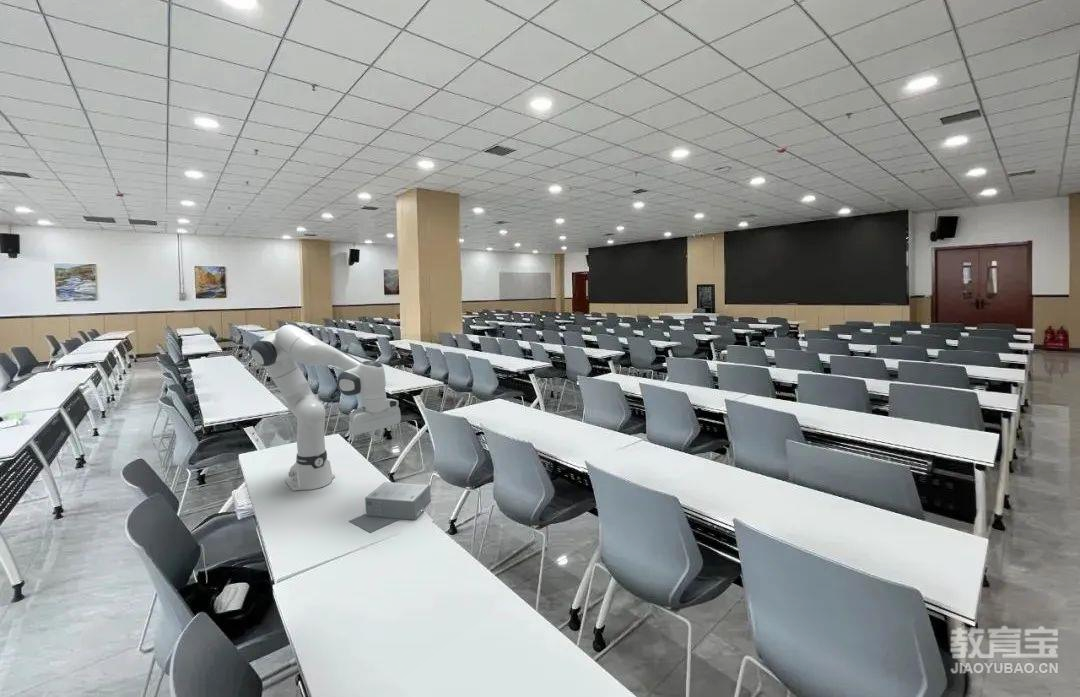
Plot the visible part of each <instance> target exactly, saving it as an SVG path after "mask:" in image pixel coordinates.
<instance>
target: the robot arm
mask: <svg viewBox="0 0 1080 697" xmlns="http://www.w3.org/2000/svg"><path fill="white" fill-rule="evenodd" d="M249 352H250V355H251V358H252V359H253V360H254V362H256V363H257V364H258V365H259V366H262V367H266V370H267V372H268V374H269V376H270V378H271V380H272V381H273V382H274V384H275V386H276V387H277V389H278V390H279V392H280V393H281V395H282V397H283V400H284V401H285V403H286V404H287V406H288V408H289V409H290V411H291V413H292V414H293V415H294V417H295V418H296V422H297V425H296V426H297V427H296V428H297V430H296V438H295V439H296V450H297V453H296V459H295V460H296V461H295V463H294V464H293V465H291V467H290V469H289V471H288V472H287V474H288V476H287V477H285V479H284V482H285V483H286V484H287V486H288V487H289V488H290V489H291V490H292V491H293V492H294V491H301V490H305V491H307V490H316V489H320V488H322V487H323V488H324V487H325V486H327V485H329V484H331V483H332V481H333V479H334V478H335V477H336V474H333V472H332V465H331V461H330V460H329V459H328V454H327V453H328V452H327V449H326V444H325V443H326V442H325V441H326V440H325V427H326V426H325V425H326V414H327V413H326V412H327V411H326V408H325V406H324V404H323V403H322V402H321V401H319V400H318V399H317V398H316V396H315V395H314V392H313V391H312V389H311V387H310V385H309V382H308V380H307V378H306V376H305V375H304V373H303V372H302V369H301V367H300V366H299V364H298V363H300V364H302V365H305V366H310V367H311V366H312V367H314V366H331V367H335V368H336V367H337V368H338V369H340V370H342V372H341V373H340V374H338V376H337V379H336V385H337V389H338V390H339V392H340V393H341V394H342V395H344V396H348V397H349V396H350V397H351V396H355V395H356V396H357V395H360V396H361V397H360V400H361V407H358V408H354V409H351V411H350V412H349V414H348V421H349V422H348V432H349V433H350V434H351V435H353V436H359V435H362V434H364V433H368V434H369V435H370V437H371V441H372V442H377V441H381V440H382V436H383V432H384V428H387V427H390V426H394V425H399V423H401V421H402V416H401V409H400V407H399V405H400V404H399V400H397V399H393V398H390V397H387V393H386V383H387V381H386V374H385V369H384V365H383V364H382V363H381V362H379V361H376V360H365V361H361V360H359V359H357V358H355V357H353V356H352V355H350V354H348V353H346V352H345V351H342V350H341V349H339V348H336V347H334V346H332V345H330V344H327V343H326V342H324V341H322V340H320V339H319V338H317V337H316V336H314V335H313V334H311V333H310V332H308V331H306V330H305V329H304V328H303V327H302V326H301V325H300V324H297V323H294V322H293V323H288V324H285V325H282V326H281V327H279V328H278V329H275V330H274V331H271V332H270V333H269V334H267V335H265V336H264V337H263V338H261V339H259V340H257V341H255V342H254V343H253V344H252V345H251V347H250V351H249ZM297 362H298V363H297ZM376 430H377V433H376ZM375 433H376V434H375Z"/></svg>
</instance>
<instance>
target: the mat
mask: <svg viewBox="0 0 1080 697" xmlns="http://www.w3.org/2000/svg"><path fill="white" fill-rule="evenodd" d="M398 521H401V519H400V518H387V517H374V516H366V513H364V514H362V515H360V516H357V517H355V518H352V519H350V520H348V522H349V523H350V524H353V525H354V526H356V527H358V528H360V529H362V530H364V531H365V532H368V533H369V534H371V533H373V532H376V531H379V530H380V529H382V528H384V527H387V526H389V525H391V524H393V523H395V522H398Z"/></svg>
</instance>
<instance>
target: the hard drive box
mask: <svg viewBox="0 0 1080 697" xmlns="http://www.w3.org/2000/svg"><path fill="white" fill-rule="evenodd" d="M431 498H432V495H431V485H430V484H427V483H426V484H425V483H424V484H423V483H407V482H394V481H393V482H392V481H384V482H382V483H381V484H380V485H379V486H377V487H376V488H375V489H374V490H372V491H371V492H370V493H368V495H367V496H365V498H364V502H365V514H366V516H374V517H387V518H400V520H403V519H404V520H417V518H418V517H419V516H420V515H421V514H422V512H424V510H426V508H427V507H428V506H429V505H430V503H431V502H432V500H431ZM421 510H422V511H421Z"/></svg>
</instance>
